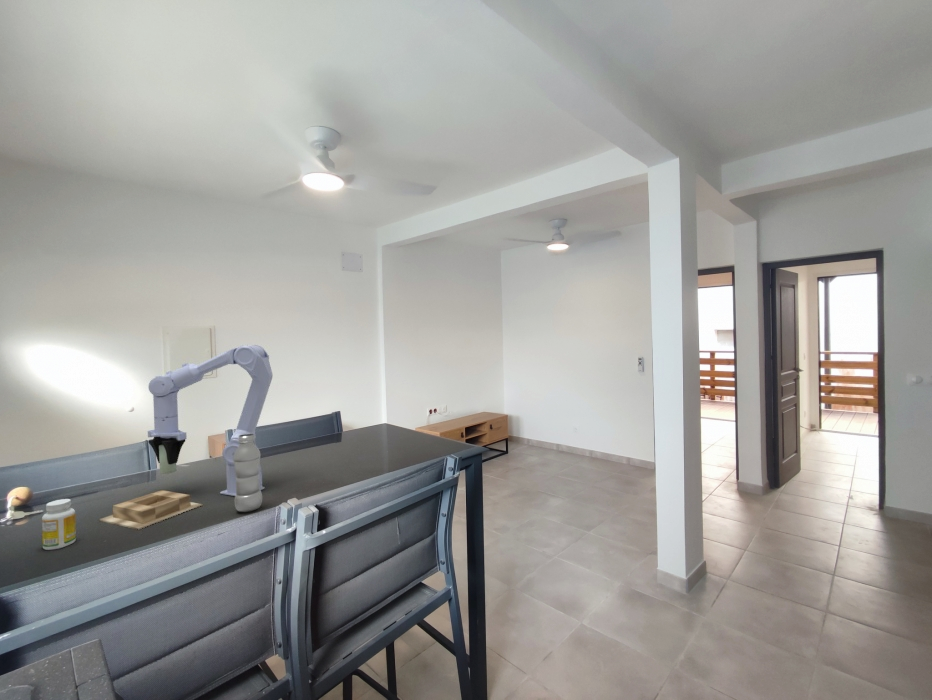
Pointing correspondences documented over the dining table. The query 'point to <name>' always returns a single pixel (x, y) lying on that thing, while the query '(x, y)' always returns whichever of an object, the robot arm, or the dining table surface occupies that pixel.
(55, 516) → the supplement bottle
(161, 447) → the dowel
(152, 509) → the socket block
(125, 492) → the dining table surface
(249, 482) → the plastic bottle
